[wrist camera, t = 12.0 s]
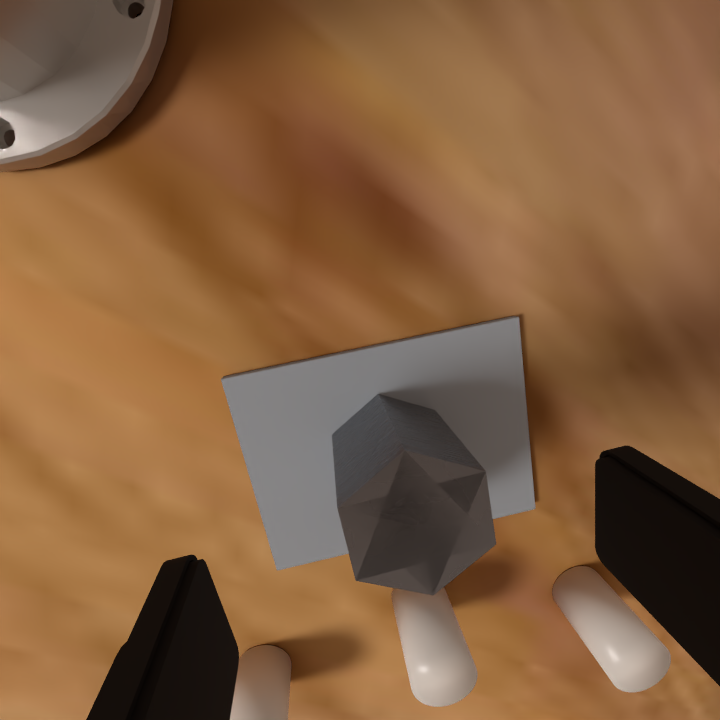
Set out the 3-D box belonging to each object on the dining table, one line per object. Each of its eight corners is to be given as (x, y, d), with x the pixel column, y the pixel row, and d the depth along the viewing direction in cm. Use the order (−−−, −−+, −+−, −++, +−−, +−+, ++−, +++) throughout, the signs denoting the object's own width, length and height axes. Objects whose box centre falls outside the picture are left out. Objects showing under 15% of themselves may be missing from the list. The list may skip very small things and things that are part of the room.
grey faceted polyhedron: (324, 405, 15) (327, 469, 10) (430, 381, 16) (480, 431, 11) (351, 513, 17) (364, 613, 12) (448, 488, 17) (501, 577, 12)
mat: (223, 376, 15) (221, 379, 15) (513, 316, 16) (519, 317, 15) (278, 563, 17) (276, 570, 17) (530, 503, 18) (535, 508, 17)
